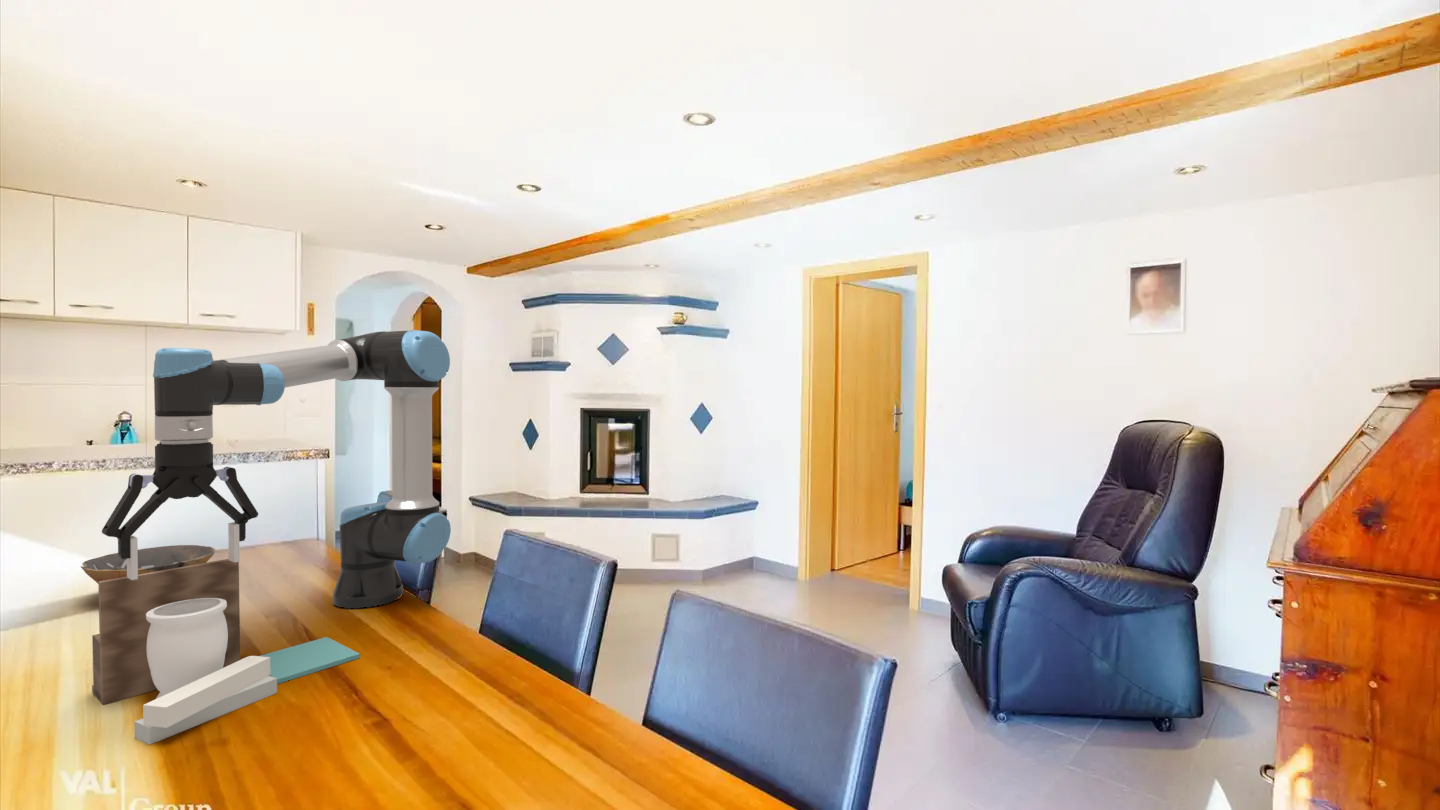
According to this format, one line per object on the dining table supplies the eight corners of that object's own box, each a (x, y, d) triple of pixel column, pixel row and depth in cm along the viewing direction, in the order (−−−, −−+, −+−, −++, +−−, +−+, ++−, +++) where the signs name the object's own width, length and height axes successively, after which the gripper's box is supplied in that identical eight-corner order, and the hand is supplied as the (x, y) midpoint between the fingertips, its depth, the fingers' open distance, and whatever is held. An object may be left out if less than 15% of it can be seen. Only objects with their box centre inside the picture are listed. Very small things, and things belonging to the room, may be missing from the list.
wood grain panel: (226, 656, 127) (224, 552, 127) (240, 665, 123) (238, 558, 123) (92, 692, 112) (89, 575, 112) (102, 704, 108) (100, 582, 107)
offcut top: (250, 672, 115) (250, 655, 114) (270, 674, 114) (270, 657, 114) (143, 725, 97) (143, 705, 97) (166, 727, 96) (166, 707, 96)
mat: (326, 640, 135) (326, 636, 135) (359, 657, 127) (359, 653, 127) (246, 663, 124) (246, 659, 124) (277, 684, 116) (277, 679, 116)
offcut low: (262, 691, 114) (262, 673, 114) (277, 695, 113) (276, 678, 112) (134, 741, 98) (134, 721, 98) (149, 748, 96) (149, 727, 96)
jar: (138, 716, 104) (136, 621, 104) (157, 689, 114) (156, 602, 113) (222, 701, 109) (220, 611, 109) (233, 677, 118) (232, 593, 118)
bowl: (233, 591, 166) (232, 552, 166) (102, 621, 146) (101, 575, 145) (191, 575, 180) (190, 539, 180) (66, 600, 159) (65, 559, 159)
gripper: (87, 447, 98) (89, 591, 98) (278, 438, 118) (279, 557, 118) (75, 445, 102) (77, 582, 103) (262, 436, 122) (262, 551, 123)
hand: (185, 569), depth 111 cm, fingers open, 13 cm apart
